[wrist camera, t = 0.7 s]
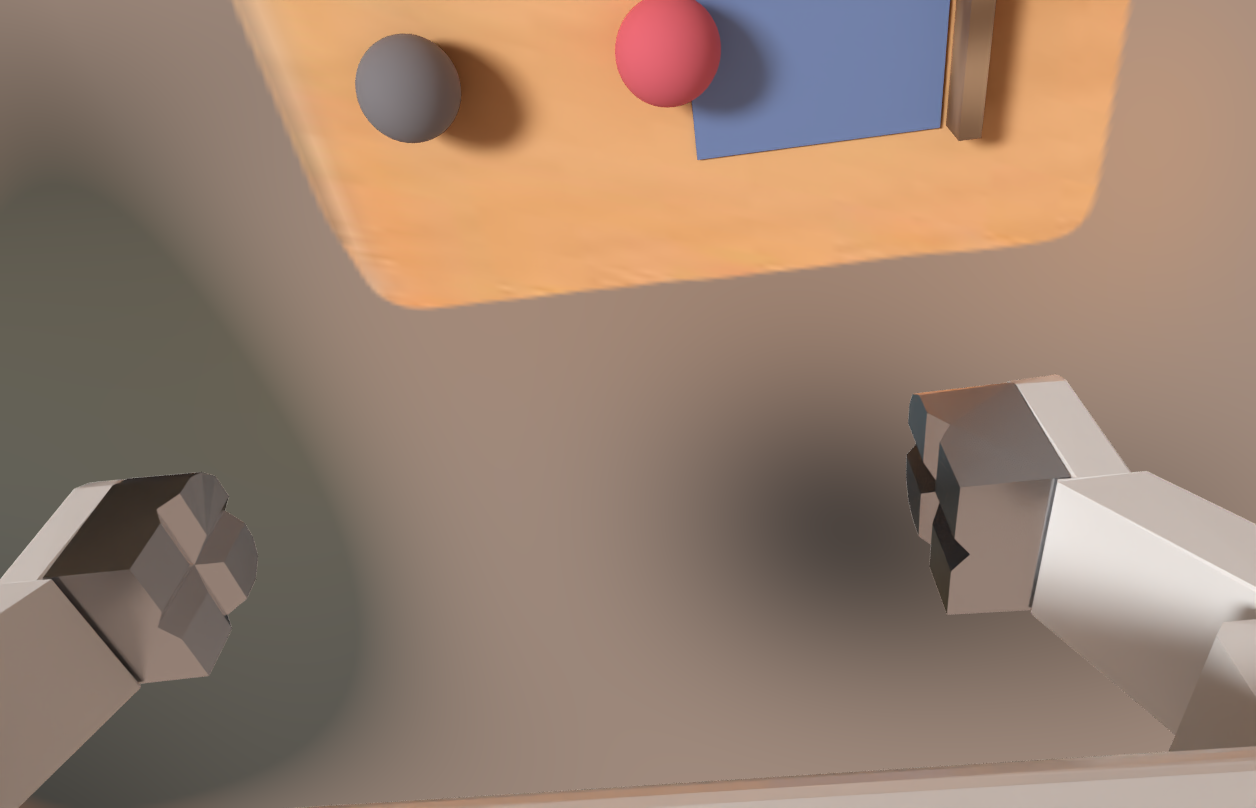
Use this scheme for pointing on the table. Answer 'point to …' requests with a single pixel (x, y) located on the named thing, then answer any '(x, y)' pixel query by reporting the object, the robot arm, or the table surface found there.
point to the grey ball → (408, 88)
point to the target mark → (820, 72)
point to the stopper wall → (970, 67)
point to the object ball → (668, 51)
